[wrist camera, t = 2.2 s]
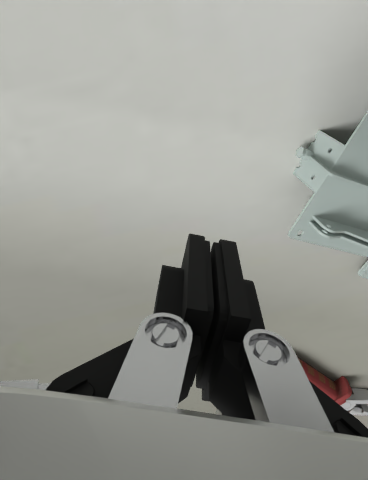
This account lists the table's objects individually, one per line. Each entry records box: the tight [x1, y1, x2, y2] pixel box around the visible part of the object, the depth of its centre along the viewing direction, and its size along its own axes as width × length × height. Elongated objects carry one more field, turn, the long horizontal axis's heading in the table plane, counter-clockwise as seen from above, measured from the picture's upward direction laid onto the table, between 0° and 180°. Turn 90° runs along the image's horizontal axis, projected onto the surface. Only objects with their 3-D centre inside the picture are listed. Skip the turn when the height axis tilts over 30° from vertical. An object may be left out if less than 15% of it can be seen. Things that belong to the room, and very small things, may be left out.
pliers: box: [297, 357, 368, 416], centre depth 38 cm, size 12×20×3 cm, turn 81°
